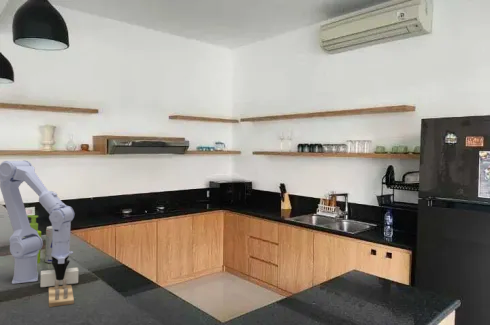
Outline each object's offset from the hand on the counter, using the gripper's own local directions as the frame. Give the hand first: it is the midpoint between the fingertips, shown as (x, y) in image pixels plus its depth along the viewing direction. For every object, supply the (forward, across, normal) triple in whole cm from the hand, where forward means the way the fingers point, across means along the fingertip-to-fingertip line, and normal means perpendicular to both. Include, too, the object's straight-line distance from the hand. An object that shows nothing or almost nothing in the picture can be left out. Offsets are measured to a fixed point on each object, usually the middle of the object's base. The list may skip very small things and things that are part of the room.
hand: (59, 277), depth 131 cm
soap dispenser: (+2, +30, +10) cm, 32 cm away
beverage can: (+2, +29, +2) cm, 29 cm away
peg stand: (+2, -13, 0) cm, 13 cm away
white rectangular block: (+2, 0, 0) cm, 2 cm away
